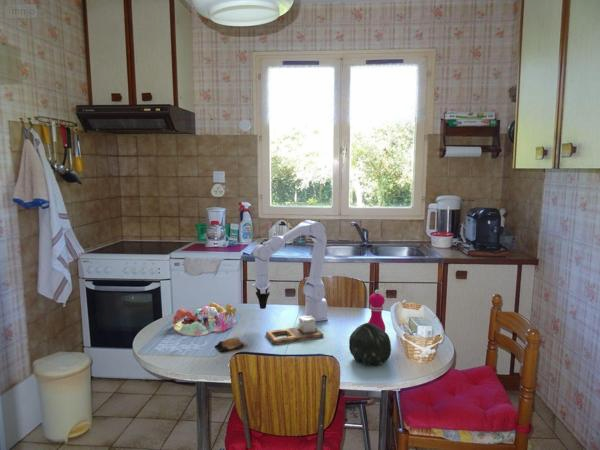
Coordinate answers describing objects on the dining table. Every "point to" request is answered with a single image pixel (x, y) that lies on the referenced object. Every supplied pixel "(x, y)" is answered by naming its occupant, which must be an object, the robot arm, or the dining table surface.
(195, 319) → the candy landscape model
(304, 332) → the light grey block
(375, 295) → the pepper mill
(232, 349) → the bread roll
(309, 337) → the wooden board with holes
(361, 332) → the squash
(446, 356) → the dining table surface
